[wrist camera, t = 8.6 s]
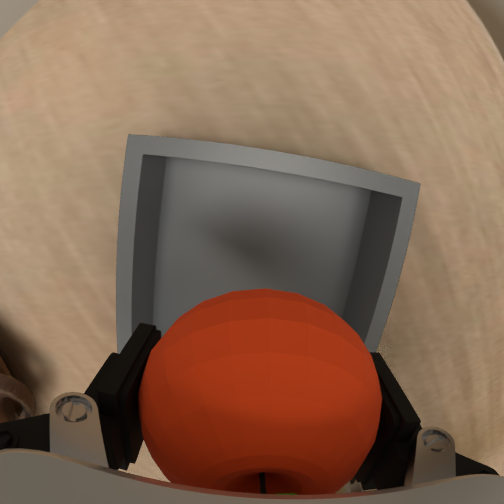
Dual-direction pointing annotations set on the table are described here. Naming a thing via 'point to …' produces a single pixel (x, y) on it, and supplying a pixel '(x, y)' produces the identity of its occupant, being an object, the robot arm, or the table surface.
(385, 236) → the bin
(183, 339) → the clementine
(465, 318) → the table surface
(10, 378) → the jug
